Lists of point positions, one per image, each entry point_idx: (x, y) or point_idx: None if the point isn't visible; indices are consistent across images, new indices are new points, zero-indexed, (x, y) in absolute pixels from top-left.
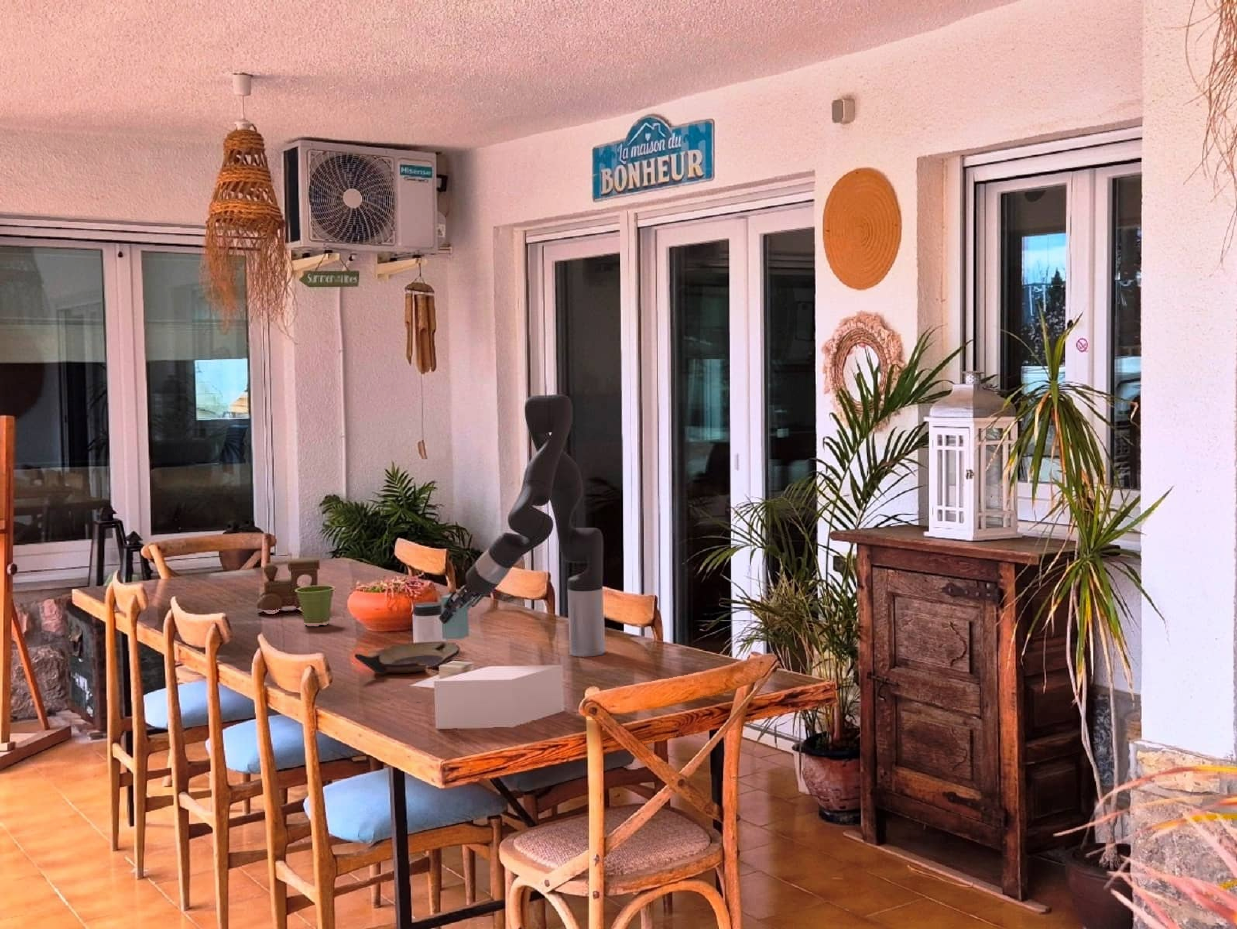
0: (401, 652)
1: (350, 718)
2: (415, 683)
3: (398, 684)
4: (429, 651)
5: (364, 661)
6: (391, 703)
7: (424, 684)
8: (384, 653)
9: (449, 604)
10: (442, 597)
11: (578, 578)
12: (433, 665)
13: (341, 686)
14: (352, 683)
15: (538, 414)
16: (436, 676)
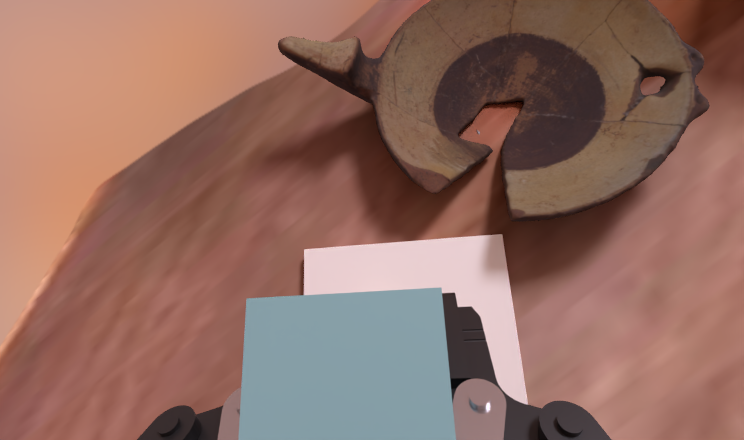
0: (557, 7)
1: (35, 306)
2: (329, 248)
3: (348, 183)
4: (619, 63)
5: (307, 68)
6: (172, 303)
7: (328, 280)
8: None
9: (220, 435)
10: (249, 317)
11: None
12: (506, 171)
13: (283, 79)
14: (316, 79)
15: None
16: (426, 247)
